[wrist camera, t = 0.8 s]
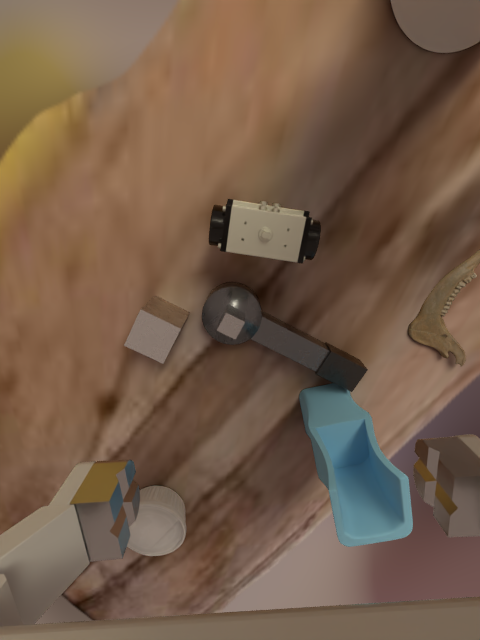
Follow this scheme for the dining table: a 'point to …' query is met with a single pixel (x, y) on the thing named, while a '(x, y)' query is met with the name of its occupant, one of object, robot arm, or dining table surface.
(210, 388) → the dining table surface
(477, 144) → the dining table surface
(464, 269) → the jawbone
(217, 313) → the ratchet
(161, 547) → the ramekin
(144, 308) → the beige rectangular block
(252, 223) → the pneumatic valve
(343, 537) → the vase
